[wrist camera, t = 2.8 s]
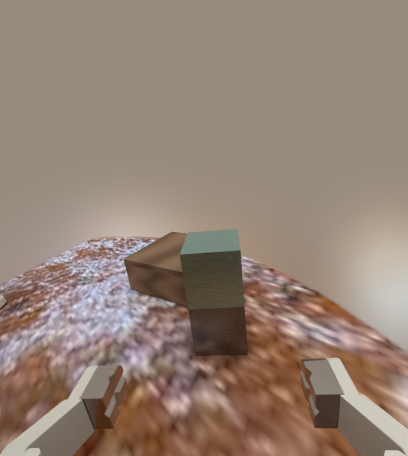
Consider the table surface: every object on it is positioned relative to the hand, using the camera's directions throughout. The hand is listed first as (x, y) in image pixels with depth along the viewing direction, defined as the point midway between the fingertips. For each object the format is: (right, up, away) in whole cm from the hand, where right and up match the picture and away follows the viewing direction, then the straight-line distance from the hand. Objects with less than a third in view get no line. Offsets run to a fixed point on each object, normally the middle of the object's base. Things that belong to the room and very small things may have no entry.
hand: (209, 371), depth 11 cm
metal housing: (+2, -5, +15) cm, 16 cm away
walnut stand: (-4, -1, +27) cm, 27 cm away
